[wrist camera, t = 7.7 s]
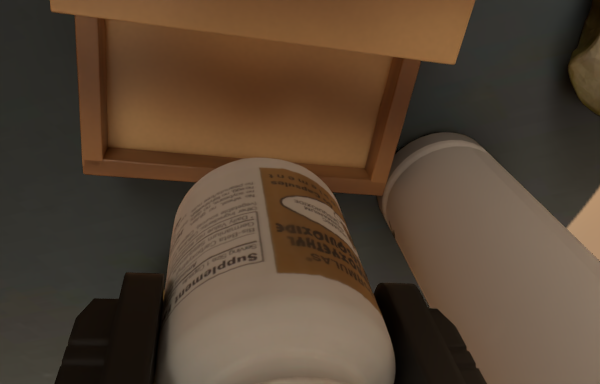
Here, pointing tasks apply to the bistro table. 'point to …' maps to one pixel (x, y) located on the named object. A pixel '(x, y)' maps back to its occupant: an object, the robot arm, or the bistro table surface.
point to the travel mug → (495, 263)
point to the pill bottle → (267, 285)
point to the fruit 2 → (588, 61)
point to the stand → (253, 83)
